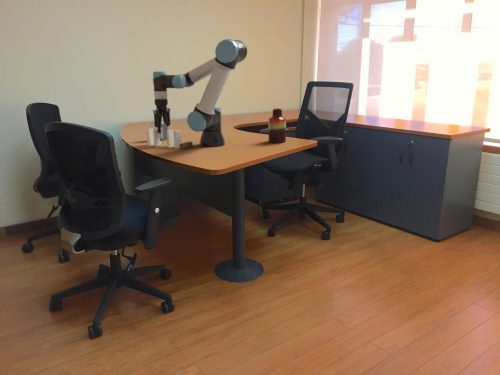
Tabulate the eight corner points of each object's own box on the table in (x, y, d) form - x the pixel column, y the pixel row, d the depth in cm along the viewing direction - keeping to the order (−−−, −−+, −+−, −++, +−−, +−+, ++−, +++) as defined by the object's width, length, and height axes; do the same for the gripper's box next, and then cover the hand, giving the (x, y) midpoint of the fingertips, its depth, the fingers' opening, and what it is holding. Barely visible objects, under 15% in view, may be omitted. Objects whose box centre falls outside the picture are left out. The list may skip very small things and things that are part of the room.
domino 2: (161, 144, 261) (160, 128, 258) (156, 146, 256) (155, 129, 254) (159, 144, 261) (158, 128, 259) (154, 146, 257) (152, 129, 254)
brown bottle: (270, 143, 260) (270, 110, 254) (267, 140, 270) (267, 108, 264) (287, 142, 262) (287, 109, 256) (283, 139, 272) (283, 107, 266)
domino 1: (154, 144, 263) (153, 128, 260) (149, 145, 259) (148, 129, 256) (152, 144, 264) (151, 128, 261) (147, 145, 259) (146, 129, 256)
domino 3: (167, 139, 258) (166, 123, 255) (162, 141, 253) (161, 124, 251) (165, 139, 258) (164, 123, 256) (160, 140, 254) (158, 124, 251)
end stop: (192, 146, 253) (192, 141, 252) (184, 149, 246) (183, 144, 245) (188, 146, 255) (188, 141, 254) (179, 149, 247) (179, 144, 246)
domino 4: (174, 146, 257) (173, 129, 254) (169, 147, 252) (168, 130, 249) (172, 145, 257) (171, 129, 254) (167, 147, 253) (166, 130, 250)
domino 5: (181, 146, 254) (180, 130, 252) (176, 148, 250) (175, 131, 247) (179, 146, 255) (178, 129, 252) (174, 147, 251) (173, 131, 248)
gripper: (165, 97, 258) (167, 134, 265) (145, 99, 243) (149, 139, 249) (175, 97, 255) (177, 135, 262) (156, 99, 239) (159, 140, 246)
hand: (163, 137), depth 255 cm, fingers closed on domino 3, 5 cm apart
